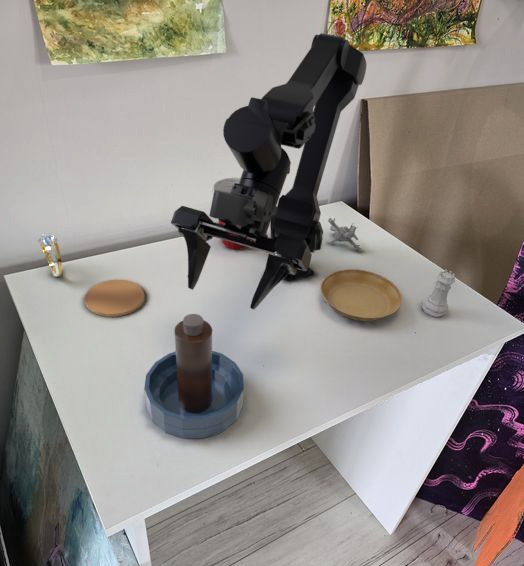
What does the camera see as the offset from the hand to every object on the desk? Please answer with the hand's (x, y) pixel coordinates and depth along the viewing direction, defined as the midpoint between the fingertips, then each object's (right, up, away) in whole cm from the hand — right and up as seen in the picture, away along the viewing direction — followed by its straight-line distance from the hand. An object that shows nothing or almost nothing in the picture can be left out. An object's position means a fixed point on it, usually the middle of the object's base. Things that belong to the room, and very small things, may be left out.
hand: (220, 298), depth 65 cm
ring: (-32, +7, +24) cm, 41 cm away
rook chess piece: (+37, 0, +25) cm, 44 cm away
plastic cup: (0, +15, +37) cm, 40 cm away
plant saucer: (+23, +2, +25) cm, 34 cm away
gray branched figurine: (+22, +15, +40) cm, 48 cm away
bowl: (-4, -14, +4) cm, 15 cm away
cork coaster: (-20, +2, +20) cm, 29 cm away
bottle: (-4, -14, +3) cm, 15 cm away
